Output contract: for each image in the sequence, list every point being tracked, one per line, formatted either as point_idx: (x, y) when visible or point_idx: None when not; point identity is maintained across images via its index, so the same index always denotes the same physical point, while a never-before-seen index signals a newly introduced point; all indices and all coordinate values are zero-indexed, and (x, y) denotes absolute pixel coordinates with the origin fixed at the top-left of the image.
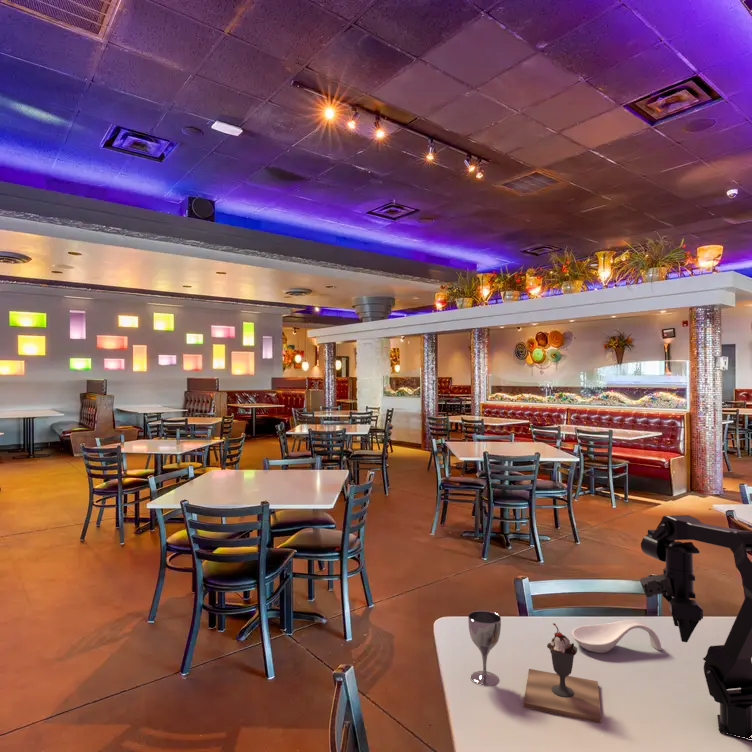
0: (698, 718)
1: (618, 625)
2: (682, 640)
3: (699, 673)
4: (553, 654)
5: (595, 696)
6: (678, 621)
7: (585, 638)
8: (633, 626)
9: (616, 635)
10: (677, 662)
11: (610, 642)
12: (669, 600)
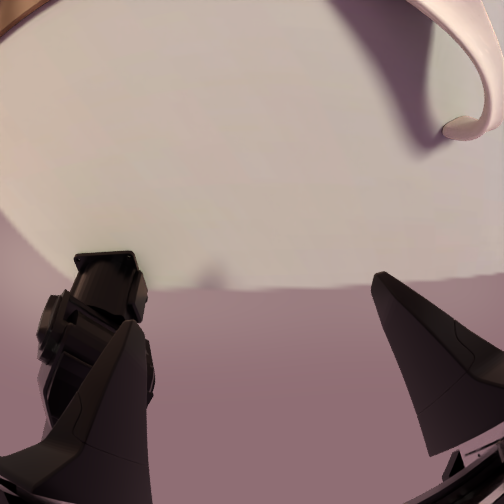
0: (97, 216)
1: (483, 32)
2: (121, 328)
3: (353, 211)
4: None
5: (22, 6)
6: (45, 438)
7: None
8: (481, 71)
9: (446, 14)
10: (397, 164)
11: None
12: (482, 395)
